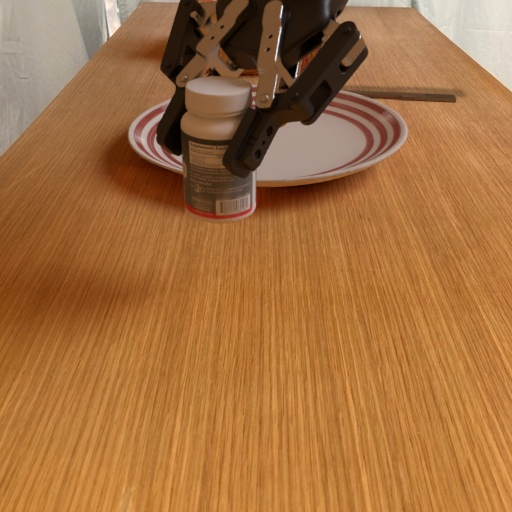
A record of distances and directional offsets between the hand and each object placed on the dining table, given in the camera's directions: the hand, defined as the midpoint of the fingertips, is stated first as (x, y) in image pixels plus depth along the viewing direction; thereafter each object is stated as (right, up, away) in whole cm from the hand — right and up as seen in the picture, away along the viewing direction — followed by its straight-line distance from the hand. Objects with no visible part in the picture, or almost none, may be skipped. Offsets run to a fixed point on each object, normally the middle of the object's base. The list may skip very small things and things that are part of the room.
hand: (200, 159), depth 42 cm
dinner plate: (+4, +5, +28) cm, 29 cm away
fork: (+20, +14, +44) cm, 50 cm away
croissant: (+4, +21, +55) cm, 59 cm away
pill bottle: (+1, -3, +4) cm, 5 cm away
